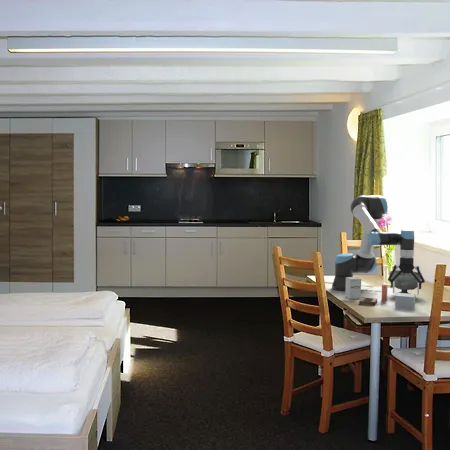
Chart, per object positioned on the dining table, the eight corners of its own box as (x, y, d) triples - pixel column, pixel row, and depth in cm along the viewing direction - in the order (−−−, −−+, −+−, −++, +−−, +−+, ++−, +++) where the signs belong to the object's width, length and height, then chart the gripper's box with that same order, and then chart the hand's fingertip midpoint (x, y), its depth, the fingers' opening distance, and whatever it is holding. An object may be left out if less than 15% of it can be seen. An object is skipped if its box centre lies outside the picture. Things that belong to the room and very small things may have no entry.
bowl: (399, 299, 382) (399, 275, 381) (382, 294, 401) (383, 270, 399) (427, 298, 387) (428, 274, 386) (410, 292, 406) (411, 269, 405)
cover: (396, 304, 368) (397, 292, 367) (414, 306, 364) (415, 294, 363) (395, 307, 358) (395, 295, 358) (413, 309, 355) (413, 297, 354)
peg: (381, 300, 378) (382, 284, 377) (387, 301, 377) (387, 284, 376) (381, 301, 375) (381, 285, 374) (386, 302, 374) (387, 285, 373)
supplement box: (349, 299, 381) (350, 278, 380) (344, 297, 388) (345, 276, 387) (361, 299, 383) (361, 278, 382) (356, 296, 390) (356, 276, 389)
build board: (361, 301, 377) (362, 297, 377) (377, 302, 374) (377, 298, 373) (359, 304, 366) (359, 300, 366) (374, 305, 363) (374, 302, 363)
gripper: (383, 256, 360) (382, 293, 361) (429, 258, 351) (428, 296, 352) (385, 255, 367) (384, 291, 368) (430, 257, 358) (428, 294, 359)
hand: (405, 294), depth 360 cm, fingers open, 13 cm apart
